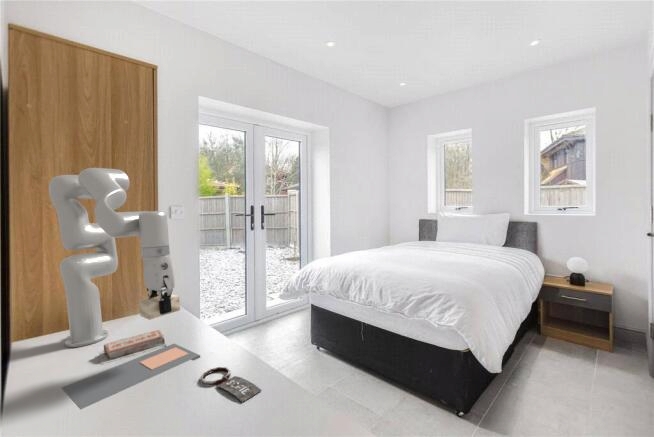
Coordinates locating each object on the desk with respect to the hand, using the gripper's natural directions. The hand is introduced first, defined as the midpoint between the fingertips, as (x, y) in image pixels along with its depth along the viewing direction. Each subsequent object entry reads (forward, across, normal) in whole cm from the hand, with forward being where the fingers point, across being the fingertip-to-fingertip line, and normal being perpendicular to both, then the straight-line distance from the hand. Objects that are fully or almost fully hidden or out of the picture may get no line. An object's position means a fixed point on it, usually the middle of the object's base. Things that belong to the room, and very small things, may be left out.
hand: (160, 310), depth 95 cm
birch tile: (+1, 0, 0) cm, 1 cm away
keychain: (+16, -29, -2) cm, 33 cm away
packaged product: (+16, +16, +3) cm, 23 cm away
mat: (+15, 0, +8) cm, 17 cm away
